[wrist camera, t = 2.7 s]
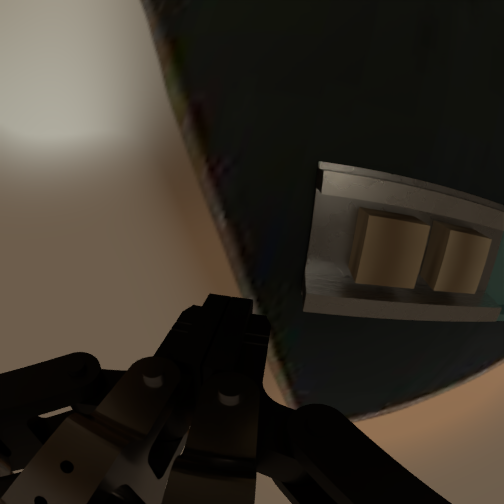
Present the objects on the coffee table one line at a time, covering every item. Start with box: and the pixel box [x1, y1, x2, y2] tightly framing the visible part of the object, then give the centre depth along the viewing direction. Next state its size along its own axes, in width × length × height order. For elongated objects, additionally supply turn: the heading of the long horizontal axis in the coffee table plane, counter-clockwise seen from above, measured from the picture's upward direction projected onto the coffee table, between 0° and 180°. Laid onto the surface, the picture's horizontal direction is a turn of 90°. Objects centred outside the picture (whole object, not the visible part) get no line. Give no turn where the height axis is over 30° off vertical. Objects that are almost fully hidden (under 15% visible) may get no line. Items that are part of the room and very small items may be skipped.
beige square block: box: [348, 207, 430, 289], centre depth 19 cm, size 5×5×3 cm
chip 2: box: [420, 220, 492, 294], centre depth 18 cm, size 5×5×3 cm
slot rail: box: [301, 161, 504, 322], centre depth 19 cm, size 20×11×4 cm, turn 86°
